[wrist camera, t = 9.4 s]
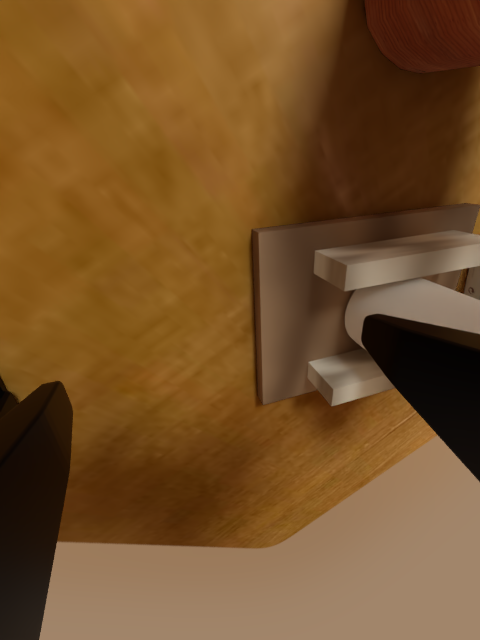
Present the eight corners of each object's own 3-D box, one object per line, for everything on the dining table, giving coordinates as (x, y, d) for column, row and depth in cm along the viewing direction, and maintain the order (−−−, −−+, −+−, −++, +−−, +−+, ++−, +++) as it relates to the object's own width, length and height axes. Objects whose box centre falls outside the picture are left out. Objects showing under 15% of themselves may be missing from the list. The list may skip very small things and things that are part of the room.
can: (421, 300, 26) (611, 388, 16) (364, 354, 27) (511, 472, 16) (390, 249, 23) (605, 318, 12) (326, 312, 23) (480, 427, 13)
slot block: (257, 395, 26) (281, 437, 22) (252, 229, 20) (283, 245, 16) (425, 351, 31) (470, 379, 27) (465, 203, 24) (533, 210, 20)
